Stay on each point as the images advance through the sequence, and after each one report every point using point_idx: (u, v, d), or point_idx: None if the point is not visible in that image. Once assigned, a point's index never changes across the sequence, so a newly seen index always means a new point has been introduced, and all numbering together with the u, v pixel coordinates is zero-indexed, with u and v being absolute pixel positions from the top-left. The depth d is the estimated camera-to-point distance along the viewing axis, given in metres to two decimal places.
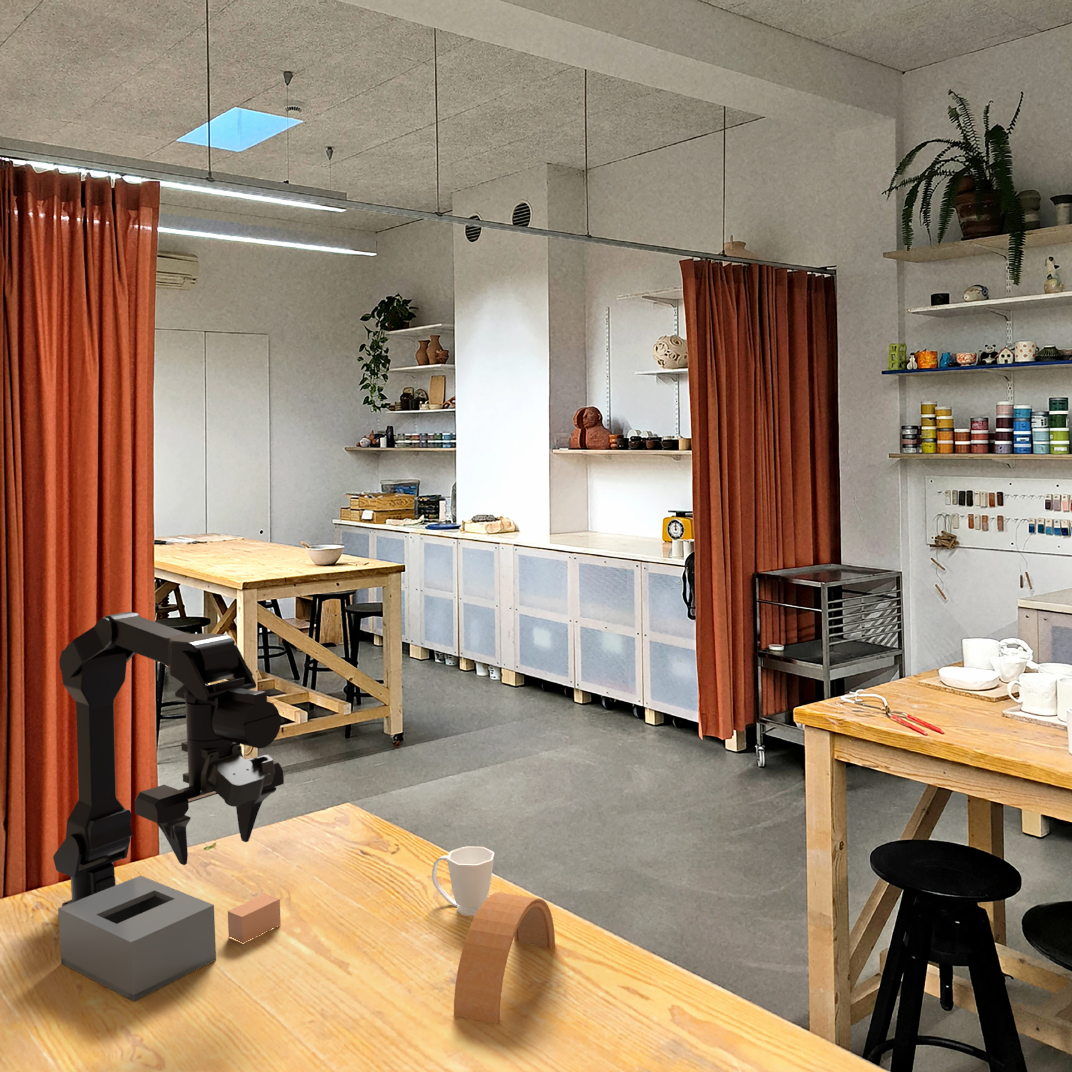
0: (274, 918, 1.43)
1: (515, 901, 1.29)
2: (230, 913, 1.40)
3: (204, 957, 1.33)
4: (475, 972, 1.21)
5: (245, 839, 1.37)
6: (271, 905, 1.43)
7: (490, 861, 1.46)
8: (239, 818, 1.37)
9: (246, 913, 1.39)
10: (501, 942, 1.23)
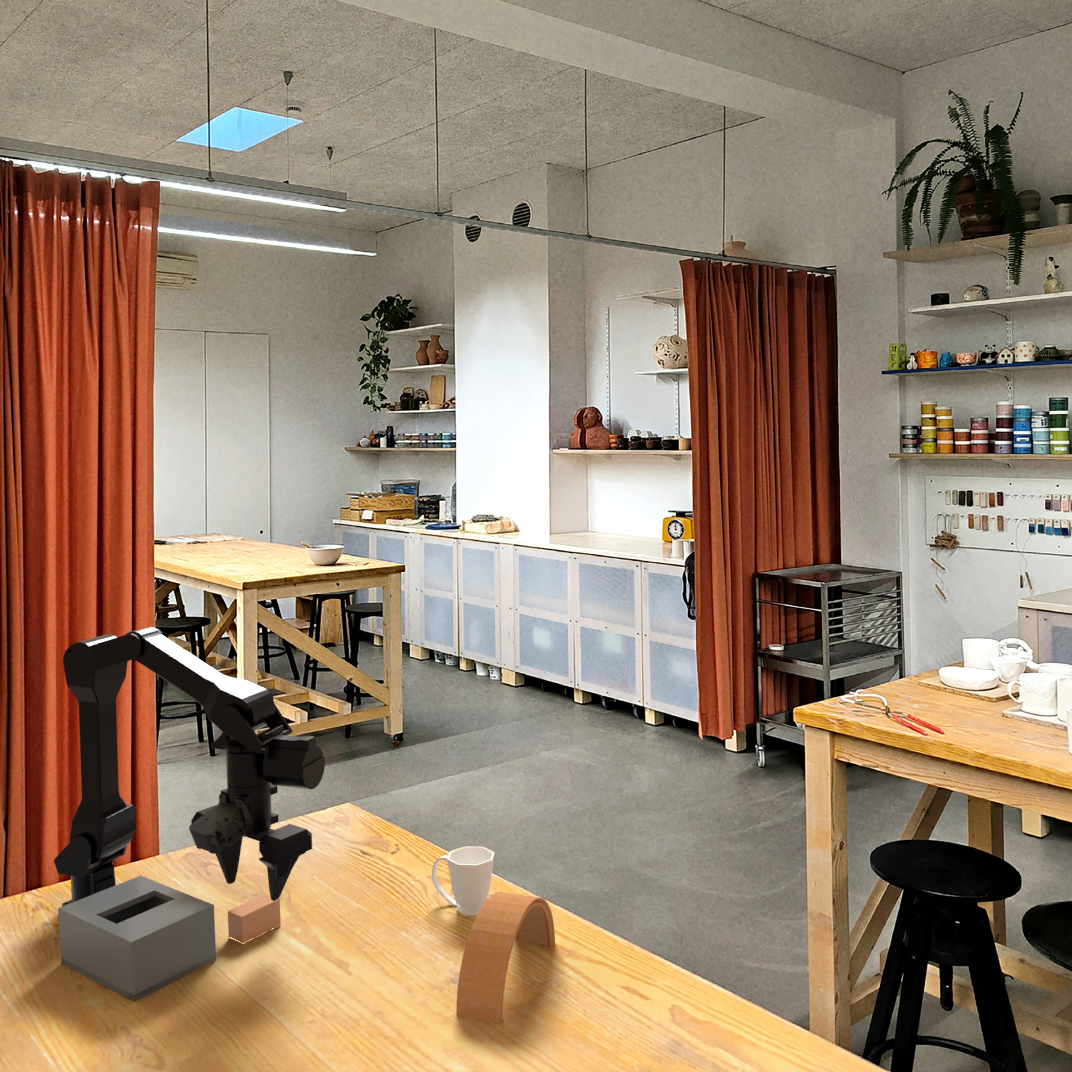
0: (274, 918, 1.43)
1: (516, 900, 1.29)
2: (230, 913, 1.40)
3: (204, 957, 1.33)
4: (478, 971, 1.22)
5: None
6: (271, 905, 1.43)
7: (490, 861, 1.46)
8: None
9: (246, 913, 1.39)
10: (503, 941, 1.23)
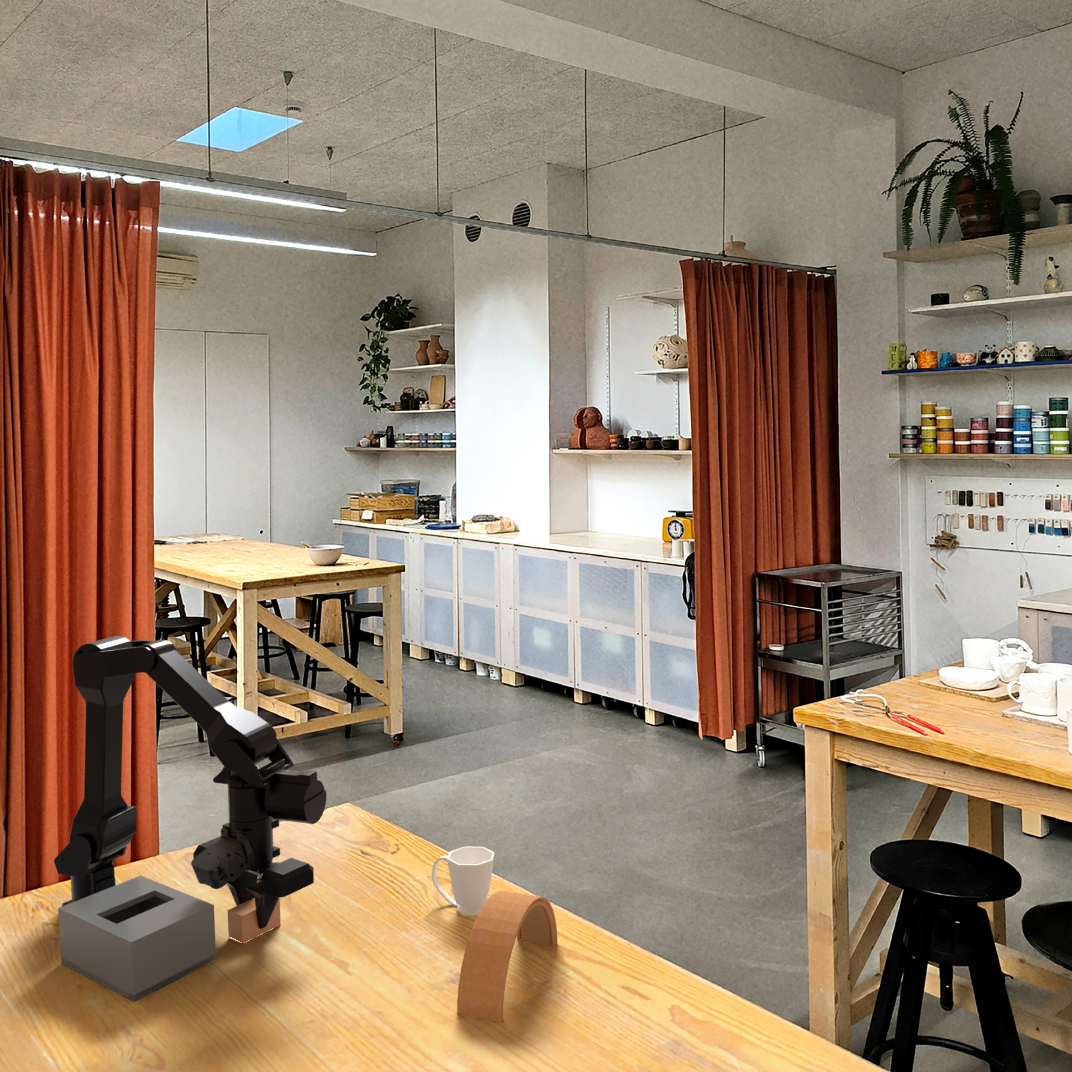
0: (274, 917, 1.43)
1: (517, 899, 1.30)
2: (230, 912, 1.40)
3: (204, 957, 1.33)
4: (479, 970, 1.22)
5: None
6: None
7: (490, 861, 1.46)
8: None
9: (246, 912, 1.39)
10: (504, 940, 1.23)
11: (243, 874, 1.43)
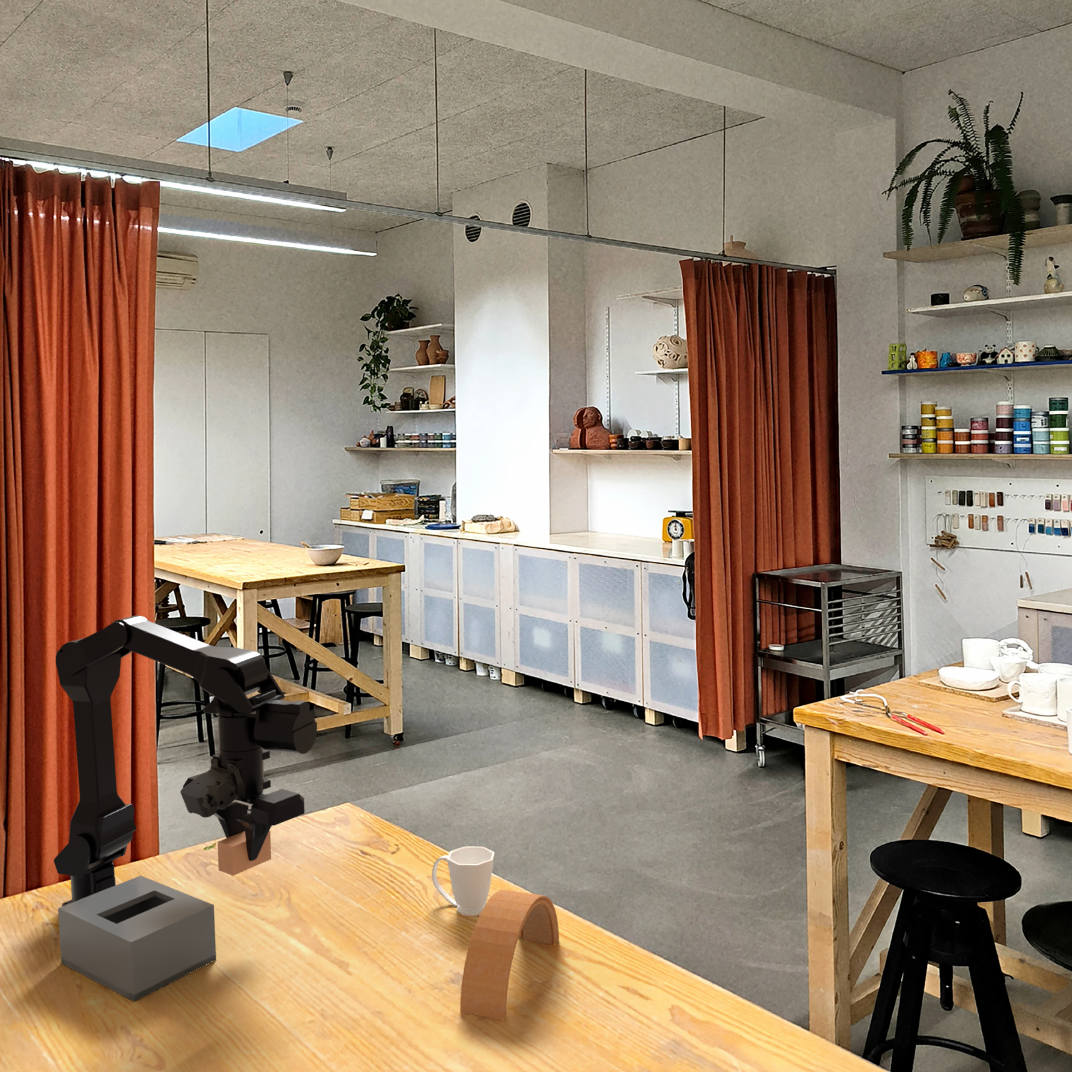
0: (265, 850, 1.42)
1: (520, 898, 1.30)
2: (220, 843, 1.38)
3: (204, 957, 1.33)
4: (482, 969, 1.22)
5: None
6: None
7: (490, 861, 1.46)
8: None
9: (236, 844, 1.38)
10: (507, 939, 1.24)
11: (233, 807, 1.41)
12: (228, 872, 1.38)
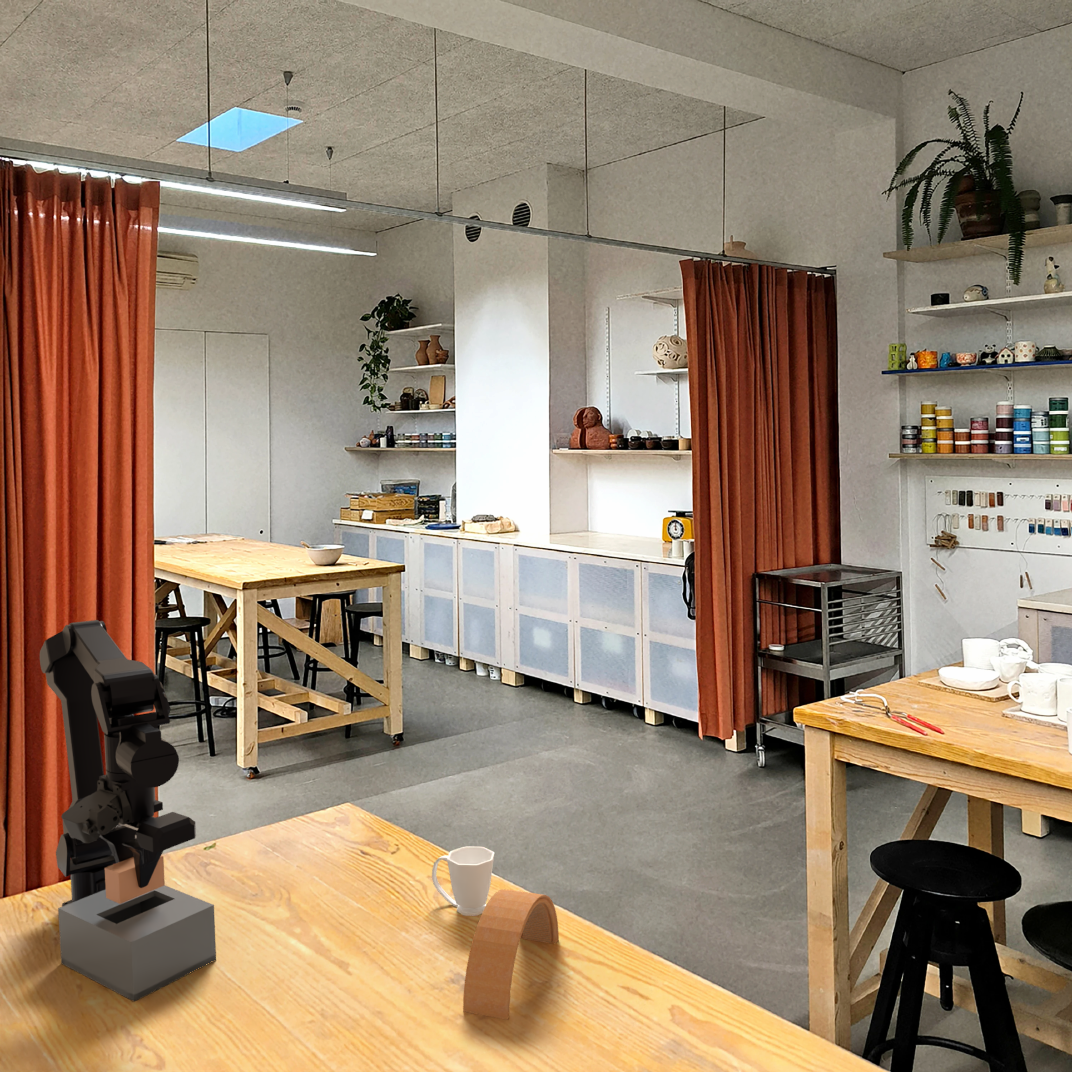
0: (157, 876, 1.34)
1: (521, 898, 1.30)
2: (107, 870, 1.31)
3: (204, 957, 1.33)
4: (485, 968, 1.22)
5: None
6: None
7: (490, 861, 1.46)
8: None
9: (124, 870, 1.30)
10: (510, 938, 1.24)
11: (124, 830, 1.34)
12: (115, 900, 1.31)
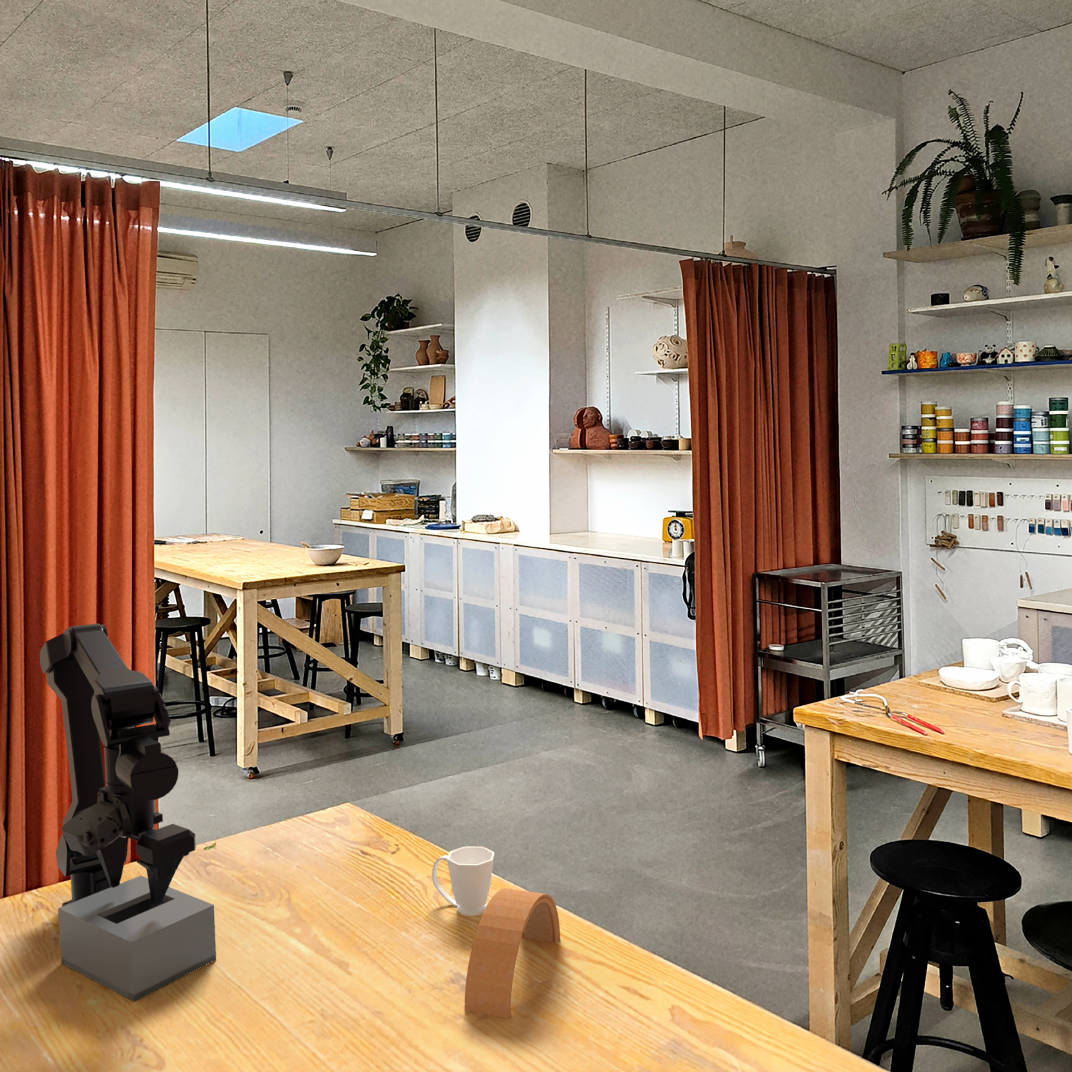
0: None
1: (522, 897, 1.30)
2: None
3: (204, 957, 1.33)
4: (486, 967, 1.23)
5: None
6: None
7: (490, 861, 1.46)
8: None
9: None
10: (511, 937, 1.24)
11: None
12: None
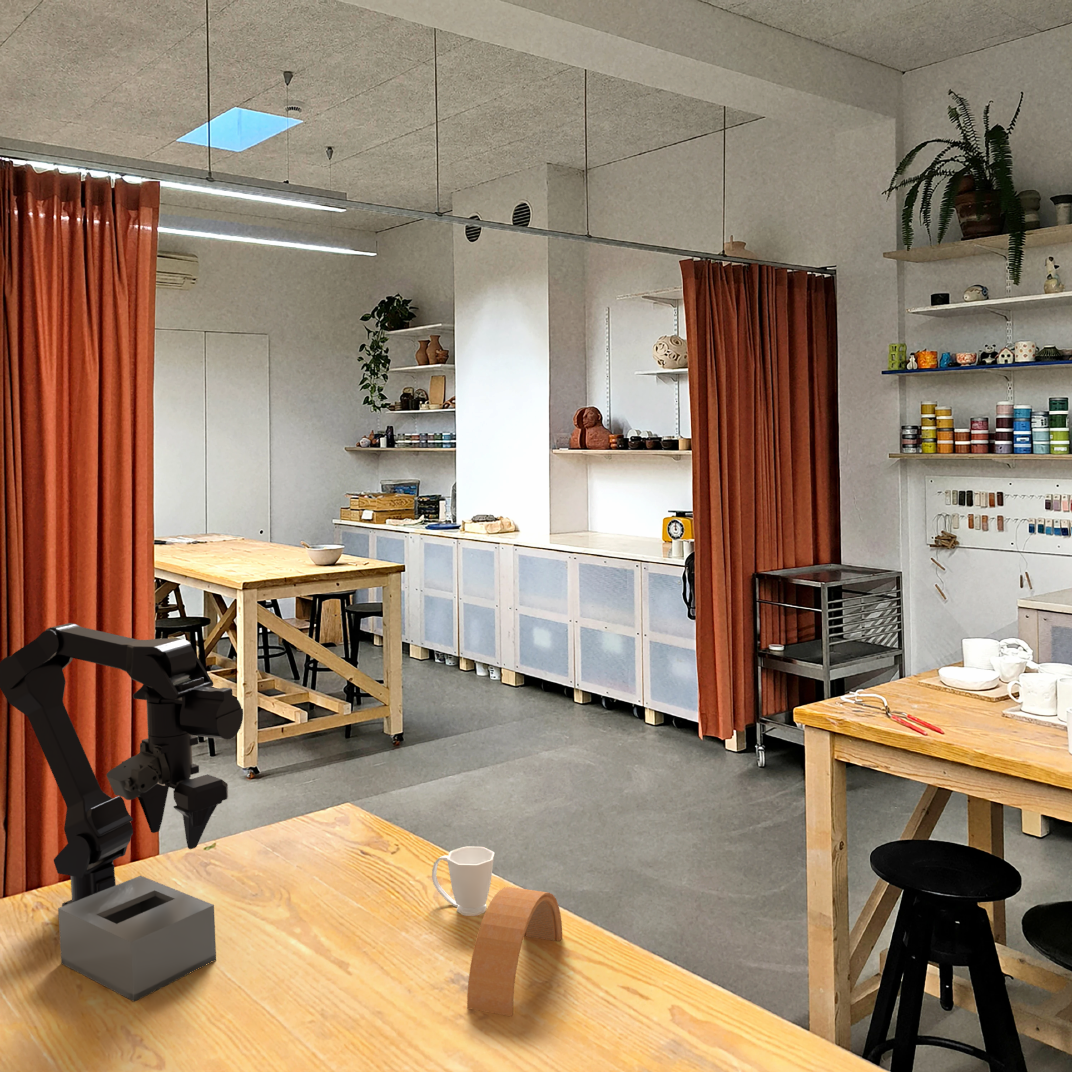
0: None
1: (525, 895, 1.31)
2: None
3: (204, 957, 1.33)
4: (488, 965, 1.23)
5: None
6: None
7: (490, 861, 1.46)
8: None
9: None
10: (513, 935, 1.24)
11: (152, 786, 1.47)
12: None
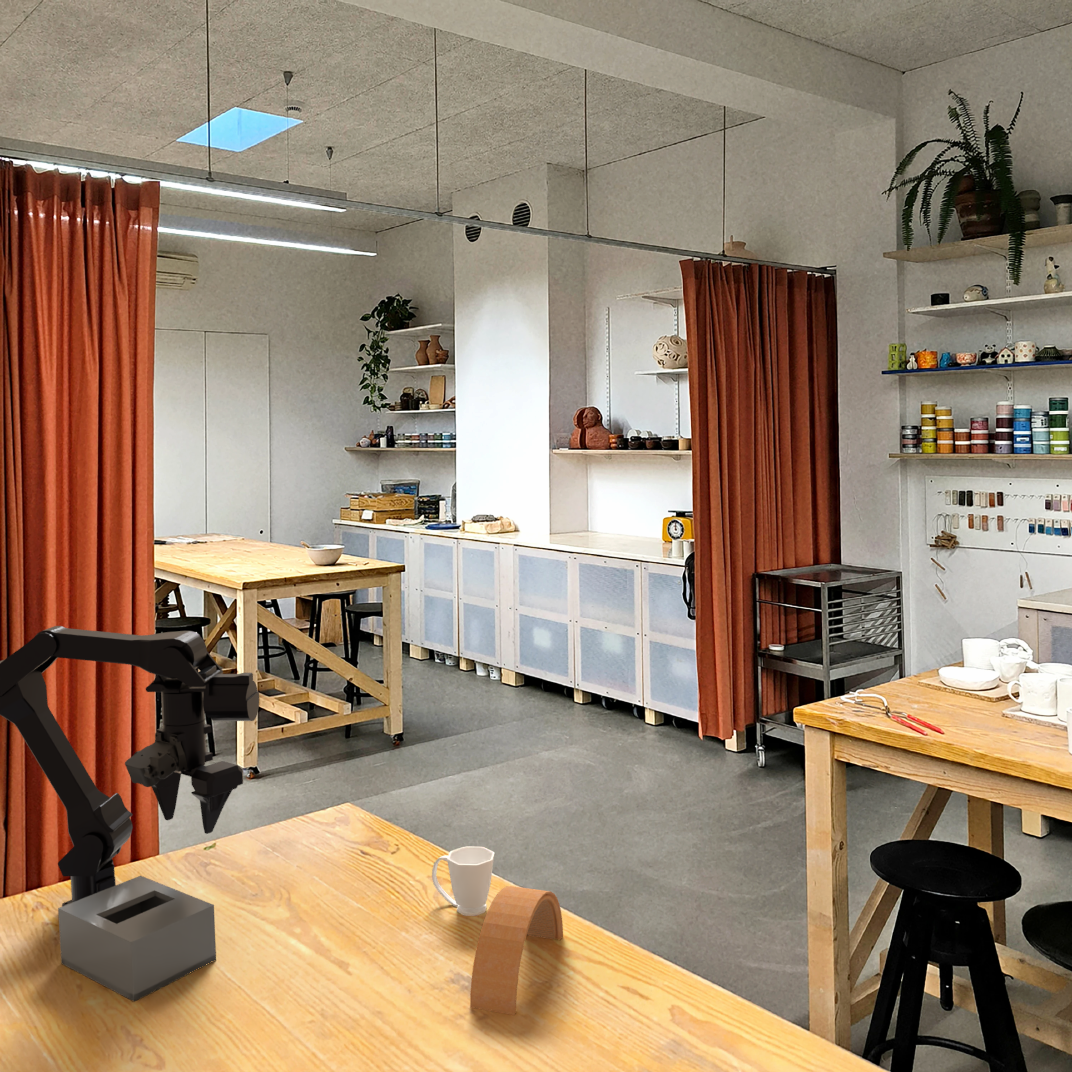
0: None
1: (526, 894, 1.31)
2: None
3: (204, 957, 1.33)
4: (491, 964, 1.23)
5: None
6: None
7: (490, 861, 1.46)
8: None
9: None
10: (516, 934, 1.25)
11: None
12: None
